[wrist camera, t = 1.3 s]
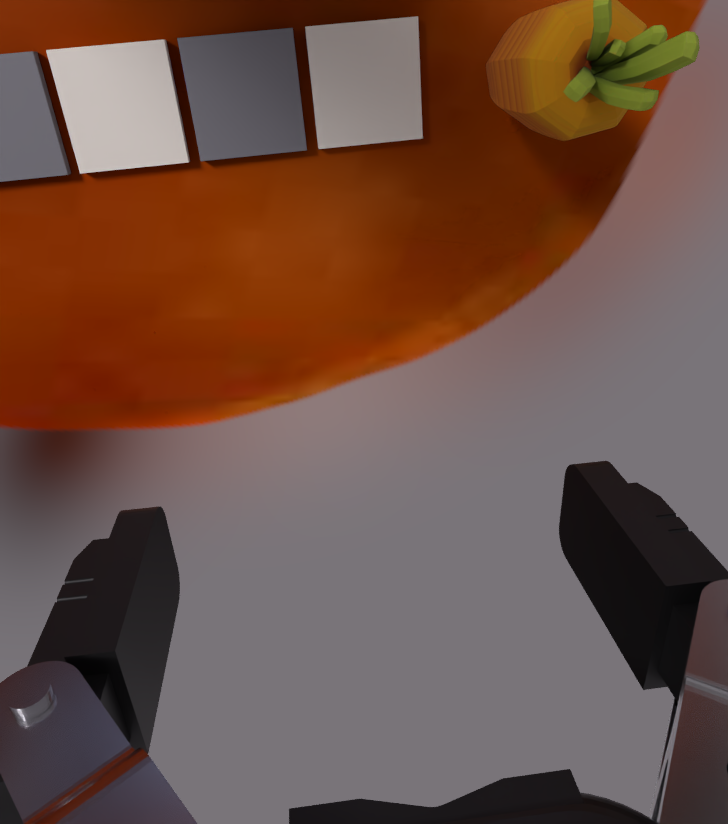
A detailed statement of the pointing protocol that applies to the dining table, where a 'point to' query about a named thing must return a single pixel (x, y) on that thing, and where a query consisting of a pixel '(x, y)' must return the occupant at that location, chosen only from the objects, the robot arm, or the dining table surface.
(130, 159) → the tile track
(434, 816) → the robot arm
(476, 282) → the dining table surface
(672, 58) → the carrot
